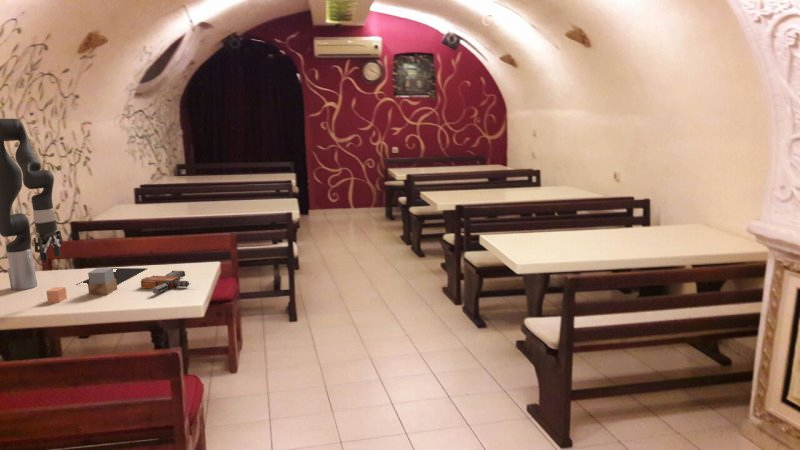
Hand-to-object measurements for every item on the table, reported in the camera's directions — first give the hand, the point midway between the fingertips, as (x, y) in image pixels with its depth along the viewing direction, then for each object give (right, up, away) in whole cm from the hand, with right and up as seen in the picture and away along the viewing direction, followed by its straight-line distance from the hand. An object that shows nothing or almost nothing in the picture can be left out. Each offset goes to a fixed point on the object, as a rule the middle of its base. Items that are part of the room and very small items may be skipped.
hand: (51, 258), depth 240 cm
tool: (+43, -13, +19) cm, 49 cm away
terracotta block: (+1, -18, +4) cm, 18 cm away
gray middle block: (+15, -10, +12) cm, 22 cm away
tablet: (+8, -11, +36) cm, 38 cm away
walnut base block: (+15, -15, +13) cm, 25 cm away
